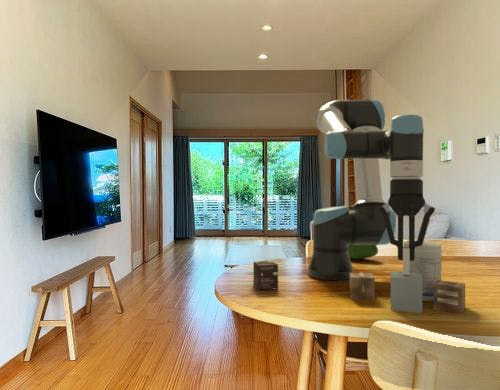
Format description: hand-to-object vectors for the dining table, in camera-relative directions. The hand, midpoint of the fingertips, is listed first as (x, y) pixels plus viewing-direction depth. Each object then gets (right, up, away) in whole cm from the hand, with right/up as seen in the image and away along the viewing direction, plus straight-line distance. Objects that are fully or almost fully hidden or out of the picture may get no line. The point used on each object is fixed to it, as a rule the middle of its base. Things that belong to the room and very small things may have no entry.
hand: (406, 273), depth 91 cm
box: (-34, -9, +19) cm, 40 cm away
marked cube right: (+10, -9, -1) cm, 13 cm away
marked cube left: (-9, -8, +8) cm, 14 cm away
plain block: (0, -8, 0) cm, 9 cm away
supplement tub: (+8, -9, +9) cm, 15 cm away
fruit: (+7, -8, +62) cm, 63 cm away
